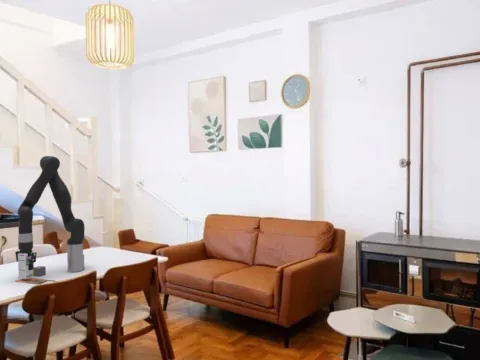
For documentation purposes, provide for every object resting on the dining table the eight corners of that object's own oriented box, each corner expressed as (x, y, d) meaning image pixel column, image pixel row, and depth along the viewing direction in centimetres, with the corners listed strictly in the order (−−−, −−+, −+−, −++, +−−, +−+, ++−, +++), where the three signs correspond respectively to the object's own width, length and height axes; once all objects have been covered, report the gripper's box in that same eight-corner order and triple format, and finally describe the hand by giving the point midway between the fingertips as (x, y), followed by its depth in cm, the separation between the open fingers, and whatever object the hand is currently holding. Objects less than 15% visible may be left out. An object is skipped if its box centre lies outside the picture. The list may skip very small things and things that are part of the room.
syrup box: (25, 279, 224) (25, 254, 224) (18, 278, 226) (17, 253, 226) (34, 276, 230) (33, 252, 229) (26, 275, 232) (26, 251, 231)
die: (39, 273, 242) (39, 265, 242) (45, 274, 241) (45, 266, 240) (32, 276, 238) (32, 267, 238) (38, 276, 236) (38, 268, 236)
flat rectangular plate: (26, 277, 233) (26, 277, 233) (60, 281, 225) (60, 281, 225) (14, 281, 226) (14, 281, 226) (48, 285, 217) (48, 285, 217)
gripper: (40, 240, 229) (41, 269, 229) (21, 238, 233) (22, 267, 234) (29, 242, 222) (30, 272, 222) (10, 241, 226) (11, 270, 227)
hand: (26, 269), depth 228 cm, fingers closed on syrup box, 6 cm apart
